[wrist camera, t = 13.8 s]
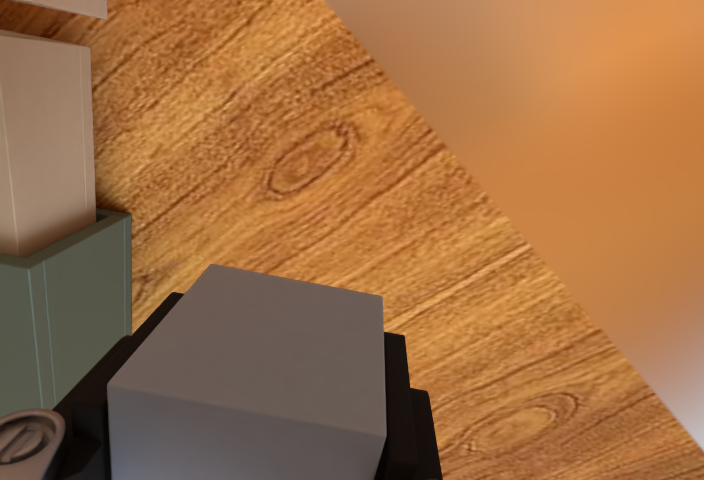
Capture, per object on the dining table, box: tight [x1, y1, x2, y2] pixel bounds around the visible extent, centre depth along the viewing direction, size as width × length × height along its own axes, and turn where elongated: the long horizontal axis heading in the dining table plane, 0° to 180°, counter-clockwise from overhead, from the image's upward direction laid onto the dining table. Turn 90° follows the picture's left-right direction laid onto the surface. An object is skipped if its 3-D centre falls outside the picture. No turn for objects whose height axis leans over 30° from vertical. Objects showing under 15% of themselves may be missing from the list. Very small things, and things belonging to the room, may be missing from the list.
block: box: [107, 264, 387, 480], centre depth 9 cm, size 4×4×4 cm
